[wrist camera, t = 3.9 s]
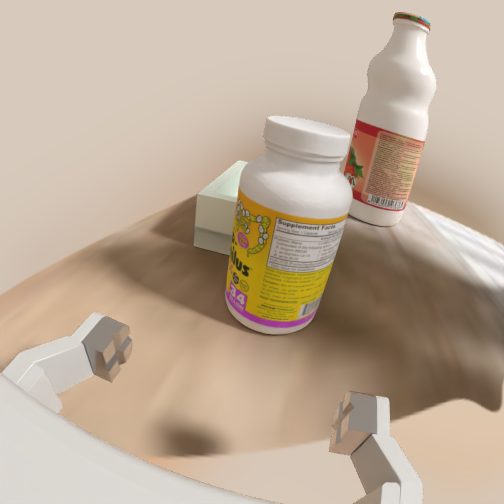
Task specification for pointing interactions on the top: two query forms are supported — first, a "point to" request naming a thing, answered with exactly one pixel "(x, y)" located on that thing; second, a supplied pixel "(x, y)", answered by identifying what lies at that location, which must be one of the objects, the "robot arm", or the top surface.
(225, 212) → the sage tray
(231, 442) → the top surface
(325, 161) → the supplement bottle
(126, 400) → the top surface
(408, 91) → the fruit juice
